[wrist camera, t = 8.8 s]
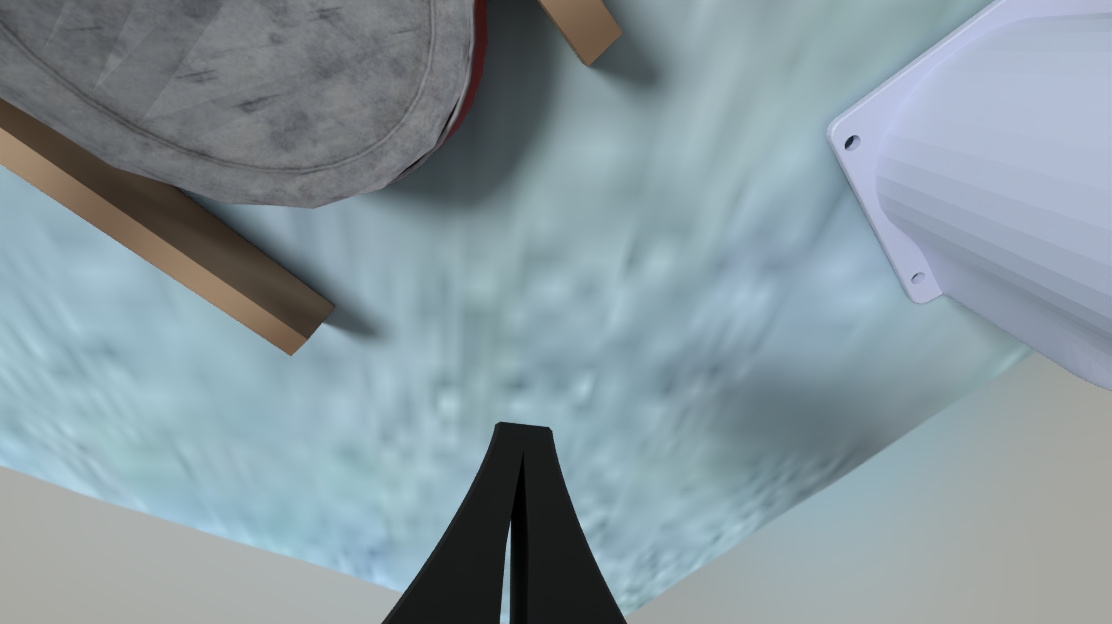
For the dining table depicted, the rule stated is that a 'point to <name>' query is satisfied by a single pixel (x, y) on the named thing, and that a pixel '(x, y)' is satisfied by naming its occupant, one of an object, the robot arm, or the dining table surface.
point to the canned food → (249, 88)
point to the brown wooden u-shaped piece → (193, 233)
